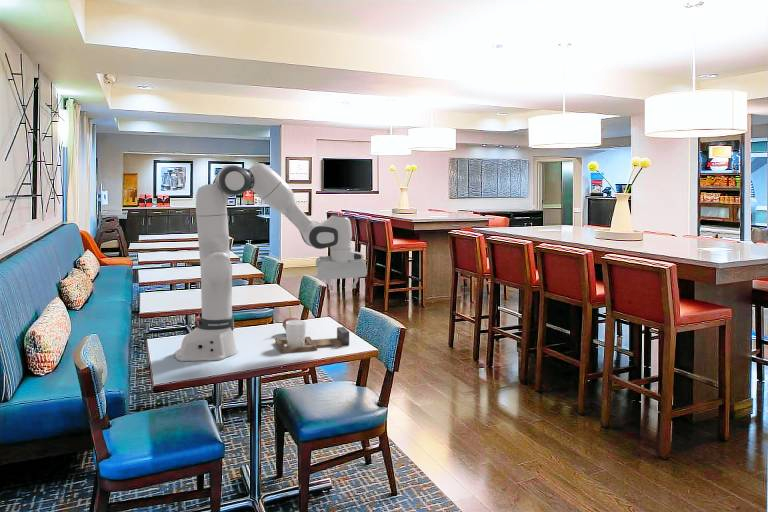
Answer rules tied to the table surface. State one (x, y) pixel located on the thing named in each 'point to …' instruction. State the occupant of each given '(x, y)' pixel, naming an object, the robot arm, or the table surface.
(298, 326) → the white cup
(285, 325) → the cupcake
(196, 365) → the table surface
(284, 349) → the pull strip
